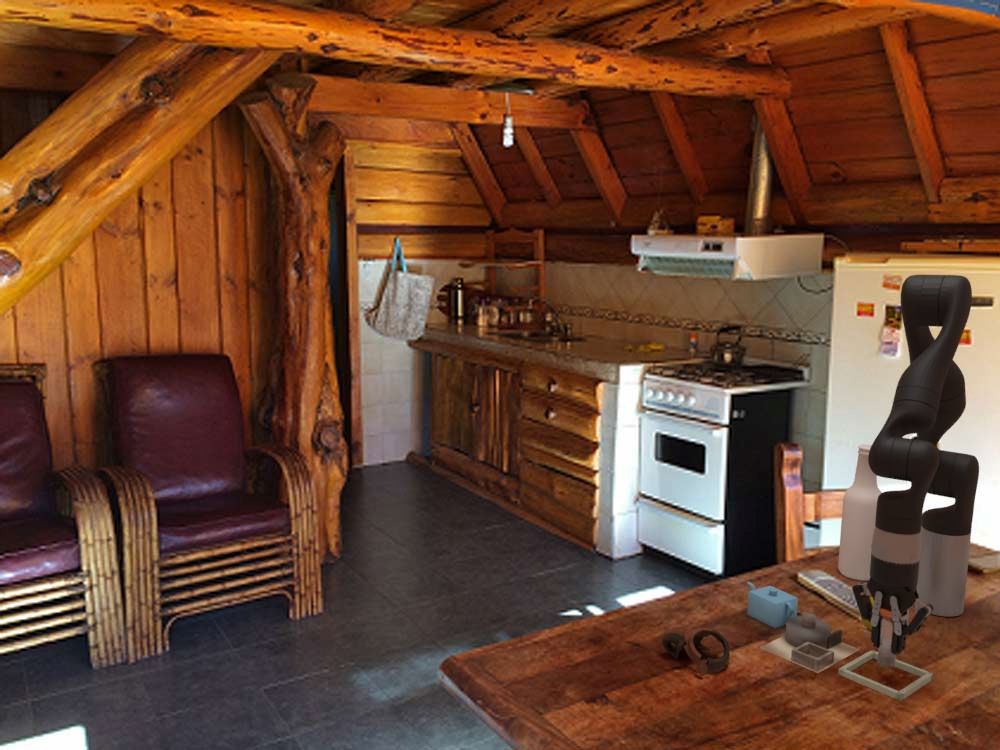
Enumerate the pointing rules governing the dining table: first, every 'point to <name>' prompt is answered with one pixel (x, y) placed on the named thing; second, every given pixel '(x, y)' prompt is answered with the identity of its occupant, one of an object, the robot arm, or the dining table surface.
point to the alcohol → (858, 520)
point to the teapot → (771, 605)
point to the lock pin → (886, 639)
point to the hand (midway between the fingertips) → (887, 649)
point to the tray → (898, 695)
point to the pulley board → (810, 644)
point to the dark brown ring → (690, 645)
